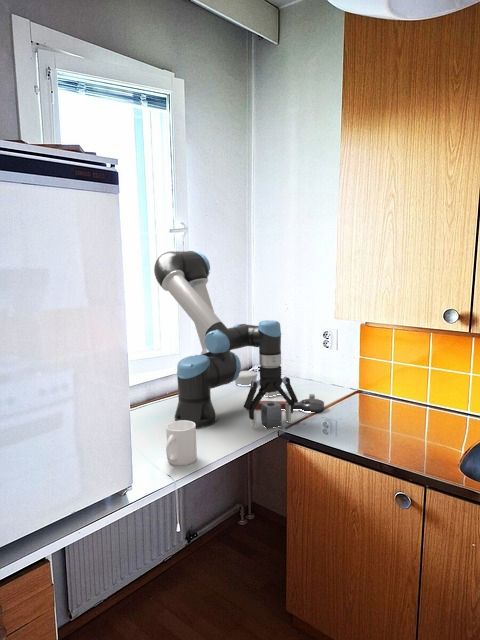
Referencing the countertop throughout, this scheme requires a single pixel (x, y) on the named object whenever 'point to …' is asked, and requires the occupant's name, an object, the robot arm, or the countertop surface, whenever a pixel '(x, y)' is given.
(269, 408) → the socket
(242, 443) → the countertop surface
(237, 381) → the ramekin
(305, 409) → the ratchet
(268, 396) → the medicine bottle
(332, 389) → the countertop surface
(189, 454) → the mug
